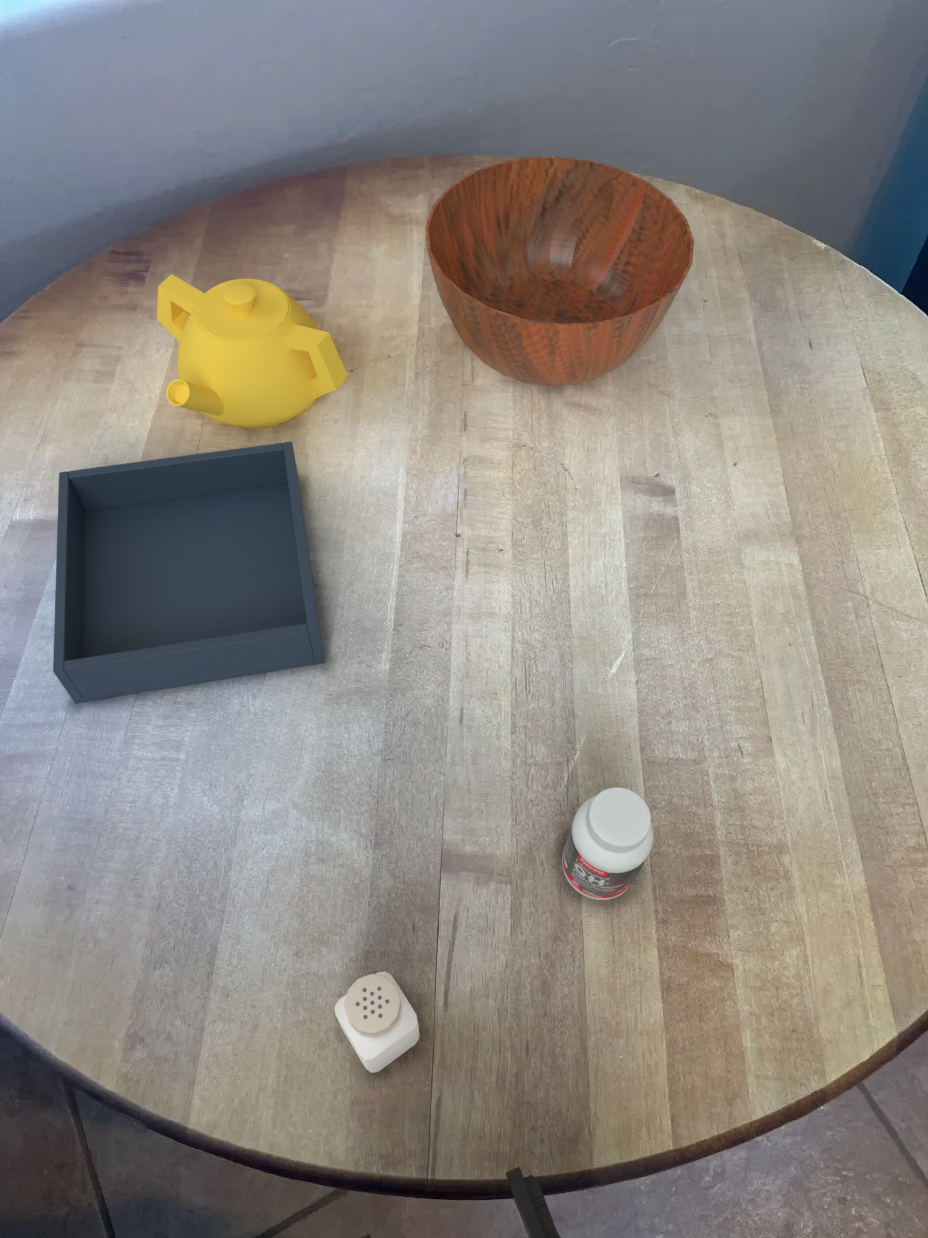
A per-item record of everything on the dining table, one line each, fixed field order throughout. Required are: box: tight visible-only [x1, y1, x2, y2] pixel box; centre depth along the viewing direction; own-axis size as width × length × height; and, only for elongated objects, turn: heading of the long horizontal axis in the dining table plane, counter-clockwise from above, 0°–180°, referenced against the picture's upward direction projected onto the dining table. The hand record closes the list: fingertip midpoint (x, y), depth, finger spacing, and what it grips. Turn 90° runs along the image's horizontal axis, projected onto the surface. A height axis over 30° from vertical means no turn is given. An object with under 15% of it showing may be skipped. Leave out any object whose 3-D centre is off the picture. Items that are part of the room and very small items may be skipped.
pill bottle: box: [561, 786, 655, 901], centre depth 65 cm, size 5×5×10 cm
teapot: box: [156, 273, 349, 429], centre depth 88 cm, size 20×18×11 cm
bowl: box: [424, 155, 695, 387], centre depth 94 cm, size 25×25×11 cm
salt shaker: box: [334, 971, 421, 1074], centre depth 59 cm, size 4×4×10 cm
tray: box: [52, 441, 326, 704], centre depth 79 cm, size 20×20×5 cm
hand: (438, 1203), depth 51 cm, fingers open, 8 cm apart
